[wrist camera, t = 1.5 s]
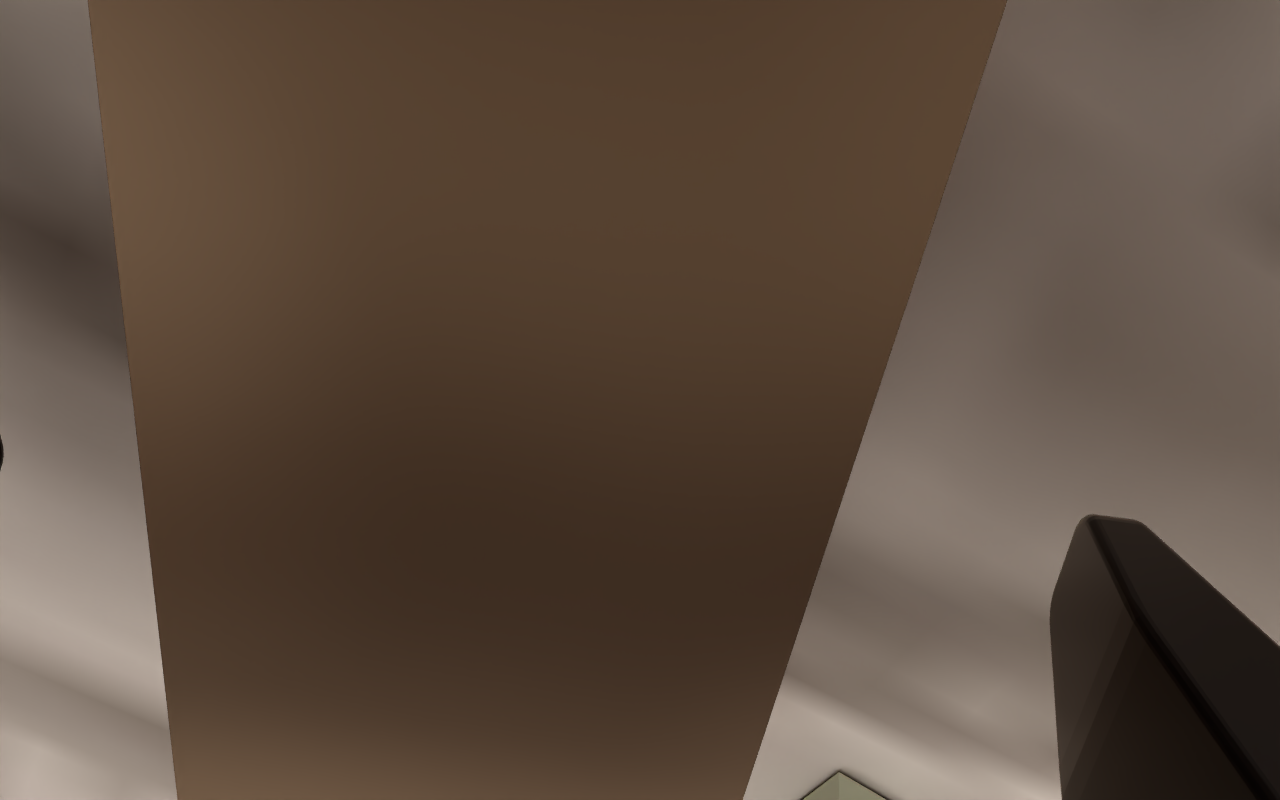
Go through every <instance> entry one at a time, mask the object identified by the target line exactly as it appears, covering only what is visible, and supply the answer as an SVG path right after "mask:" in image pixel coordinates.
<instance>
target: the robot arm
mask: <svg viewBox="0 0 1280 800" xmlns="http://www.w3.org/2000/svg"><path fill="white" fill-rule="evenodd" d="M3 456H4V449H3V443H2V439H1V436H0V470H1V467H2V463H3ZM1050 635H1051V651H1052V666H1053V681H1054V696H1055V711H1056V727H1057V742H1058V757H1059V771H1060V783H1061V794H1062V800H1280V646H1279V645H1278V644H1276V643H1275V642H1274V641H1273V640H1272V639H1271V638H1270V637H1269V636H1268V635H1267V634H1265V633H1264V632H1263V631H1262V630H1261V629H1260V628H1259V627H1258V626H1257V625H1255V624H1254V623H1253V622H1252V621H1251V620H1250V619H1249V618H1248V617H1247V616H1245V615H1244V614H1243V613H1242V612H1241V611H1240V610H1239V609H1238V608H1237V607H1235V606H1234V605H1233V604H1232V603H1231V602H1230V601H1229V600H1228V599H1227V598H1225V597H1224V596H1223V595H1222V594H1221V593H1220V592H1219V591H1218V590H1217V589H1216V588H1214V587H1213V586H1212V585H1211V584H1210V583H1209V582H1208V581H1207V580H1206V579H1204V578H1203V577H1202V576H1201V575H1200V574H1199V573H1198V572H1197V571H1196V570H1194V569H1193V568H1192V567H1191V566H1190V565H1189V564H1188V563H1187V562H1186V561H1184V560H1183V559H1182V558H1181V557H1180V556H1179V555H1178V554H1177V553H1176V552H1174V551H1173V550H1172V549H1171V548H1170V547H1169V546H1168V545H1167V544H1166V543H1165V542H1163V541H1162V540H1161V539H1160V538H1159V537H1158V536H1157V535H1156V534H1155V533H1153V532H1152V531H1151V530H1150V529H1149V528H1148V527H1147V526H1145V525H1144V524H1143V523H1141V522H1139V521H1137V520H1133V519H1125V518H1118V517H1110V516H1102V515H1095V514H1090V515H1088V516H1085V517H1084V518H1082V519H1081V521H1080V522H1079V524H1078V525H1077V527H1076V529H1075V532H1074V534H1073V537H1072V540H1071V543H1070V546H1069V549H1068V552H1067V555H1066V557H1065V560H1064V563H1063V566H1062V569H1061V572H1060V575H1059V578H1058V580H1057V583H1056V586H1055V589H1054V592H1053V596H1052V601H1051V608H1050Z"/></svg>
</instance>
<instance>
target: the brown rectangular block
mask: <svg viewBox="0 0 1280 800" xmlns="http://www.w3.org/2000/svg"><path fill="white" fill-rule="evenodd" d="M1006 3H1007V0H88V7H89V16H90V25H91V34H92V43H93V52H94V61H95V69H96V78H97V87H98V96H99V105H100V114H101V123H102V132H103V141H104V149H105V158H106V167H107V176H108V185H109V194H110V203H111V212H112V221H113V229H114V238H115V247H116V256H117V265H118V274H119V283H120V292H121V301H122V309H123V318H124V327H125V336H126V345H127V354H128V363H129V372H130V381H131V389H132V398H133V407H134V416H135V425H136V434H137V443H138V452H139V461H140V469H141V478H142V487H143V496H144V505H145V514H146V523H147V532H148V541H149V549H150V558H151V567H152V576H153V585H154V594H155V603H156V612H157V621H158V629H159V638H160V647H161V656H162V665H163V674H164V683H165V692H166V701H167V709H168V718H169V727H170V736H171V745H172V754H173V763H174V772H175V781H176V789H177V798H178V800H743V797H744V794H745V791H746V788H747V785H748V782H749V779H750V776H751V773H752V770H753V767H754V764H755V761H756V758H757V755H758V752H759V749H760V746H761V743H762V740H763V737H764V734H765V731H766V728H767V725H768V721H769V718H770V715H771V712H772V709H773V706H774V703H775V700H776V697H777V694H778V691H779V688H780V685H781V682H782V679H783V676H784V673H785V670H786V667H787V664H788V661H789V658H790V655H791V652H792V649H793V646H794V643H795V640H796V637H797V634H798V631H799V628H800V625H801V622H802V619H803V616H804V613H805V610H806V607H807V604H808V601H809V598H810V595H811V592H812V589H813V586H814V583H815V580H816V577H817V574H818V571H819V568H820V564H821V561H822V558H823V555H824V552H825V549H826V546H827V543H828V540H829V537H830V534H831V531H832V528H833V525H834V522H835V519H836V516H837V513H838V510H839V507H840V504H841V501H842V498H843V495H844V492H845V489H846V486H847V483H848V480H849V477H850V474H851V471H852V468H853V465H854V462H855V459H856V456H857V453H858V450H859V447H860V444H861V441H862V438H863V435H864V432H865V429H866V426H867V423H868V420H869V417H870V414H871V411H872V407H873V404H874V401H875V398H876V395H877V392H878V389H879V386H880V383H881V380H882V377H883V374H884V371H885V368H886V365H887V362H888V359H889V356H890V353H891V350H892V347H893V344H894V341H895V338H896V335H897V332H898V329H899V326H900V323H901V320H902V317H903V314H904V311H905V308H906V305H907V302H908V299H909V296H910V293H911V290H912V287H913V284H914V281H915V278H916V275H917V272H918V269H919V266H920V263H921V260H922V257H923V254H924V250H925V247H926V244H927V241H928V238H929V235H930V232H931V229H932V226H933V223H934V220H935V217H936V214H937V211H938V208H939V205H940V202H941V199H942V196H943V193H944V190H945V187H946V184H947V181H948V178H949V175H950V172H951V169H952V166H953V163H954V160H955V157H956V154H957V151H958V148H959V145H960V142H961V139H962V136H963V133H964V130H965V127H966V124H967V121H968V118H969V115H970V112H971V109H972V106H973V103H974V100H975V97H976V94H977V90H978V87H979V84H980V81H981V78H982V75H983V72H984V69H985V66H986V63H987V60H988V57H989V54H990V51H991V48H992V45H993V42H994V39H995V36H996V33H997V30H998V27H999V24H1000V21H1001V18H1002V15H1003V12H1004V9H1005V6H1006Z"/></svg>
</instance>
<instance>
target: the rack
mask: <svg viewBox="0 0 1280 800" xmlns="http://www.w3.org/2000/svg"><path fill="white" fill-rule="evenodd" d="M803 800H886V799H884V798H883V797H881V796H879V795H877V794H876V793H874V792H872V791H871V790H869V789H867V788H865V787H864V786H862V785H860V784H859V783H857V782H855V781H853V780H852V779H850V778H848V777H847V776H845V775H843V774H841V773H840V772H838V773H837V774H836V775H834V776H833V777H832V778H830V779H829V780H828V781H827V782H825V783H824V784H823V785H821V786H820V787H819V788H817V789H816V790H815V791H814V792H812V793H811V794H810V795H808V796H807V797H806V798H804V799H803Z"/></svg>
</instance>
